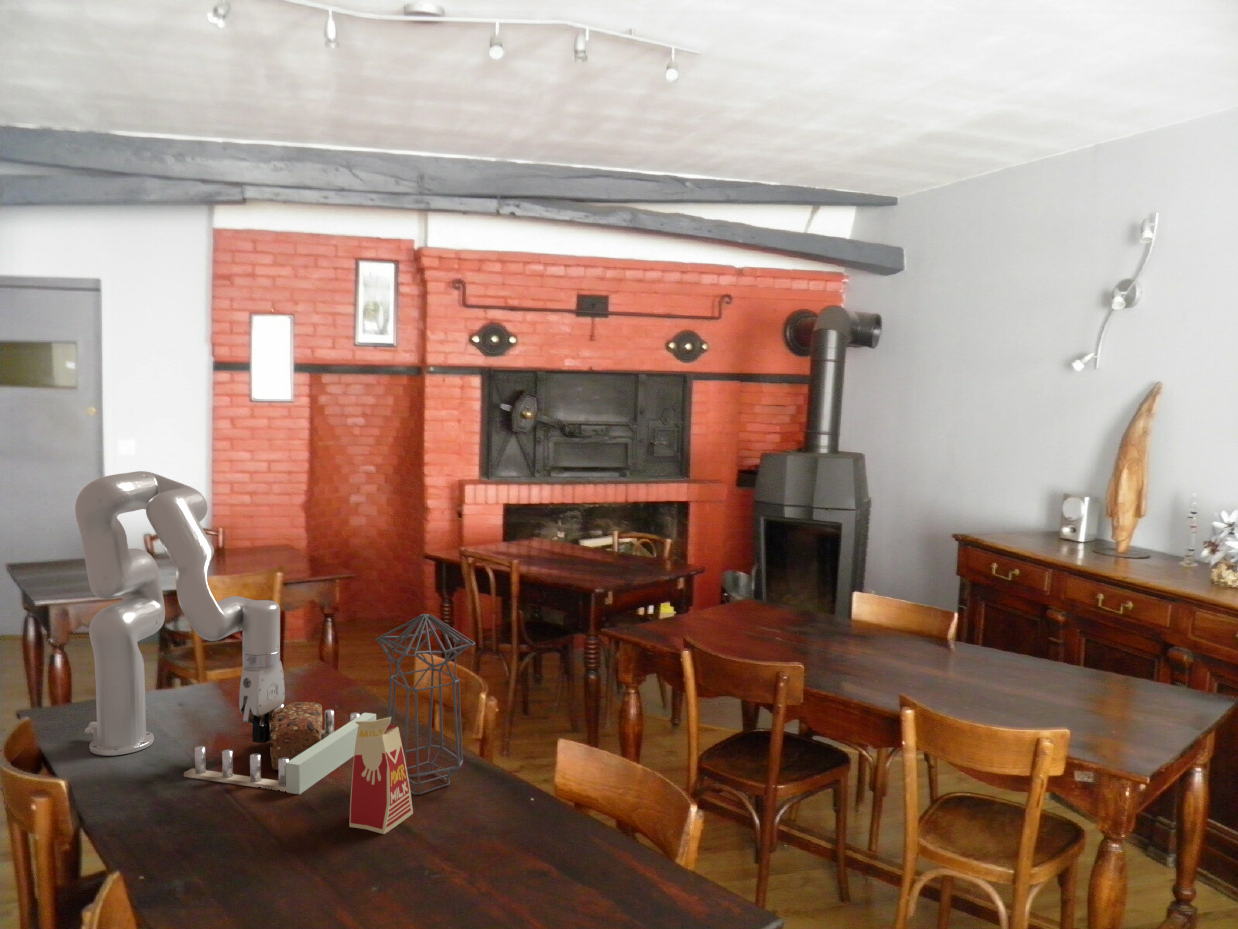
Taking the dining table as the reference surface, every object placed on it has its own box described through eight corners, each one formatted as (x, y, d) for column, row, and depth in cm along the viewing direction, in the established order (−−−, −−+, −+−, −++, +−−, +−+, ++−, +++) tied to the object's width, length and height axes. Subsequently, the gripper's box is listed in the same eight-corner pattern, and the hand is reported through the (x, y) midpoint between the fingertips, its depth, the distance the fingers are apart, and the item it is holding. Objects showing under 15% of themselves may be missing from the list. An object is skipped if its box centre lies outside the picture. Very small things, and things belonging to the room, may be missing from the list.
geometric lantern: (372, 780, 195) (371, 611, 192) (441, 762, 204) (441, 601, 201) (406, 808, 182) (406, 628, 179) (478, 787, 192) (479, 617, 189)
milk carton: (413, 813, 180) (413, 710, 178) (385, 835, 172) (385, 727, 170) (371, 805, 183) (371, 704, 181) (342, 826, 174) (342, 720, 173)
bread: (321, 769, 200) (321, 722, 199) (267, 773, 197) (266, 726, 196) (323, 736, 217) (323, 694, 217) (274, 740, 215) (273, 697, 214)
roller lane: (182, 777, 194) (182, 748, 194) (272, 726, 223) (272, 701, 222) (299, 794, 187) (299, 765, 187) (376, 739, 216) (376, 714, 216)
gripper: (254, 670, 196) (254, 756, 198) (297, 651, 211) (296, 731, 212) (223, 666, 198) (223, 752, 200) (267, 647, 213) (267, 727, 214)
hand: (261, 741), depth 206 cm, fingers closed
